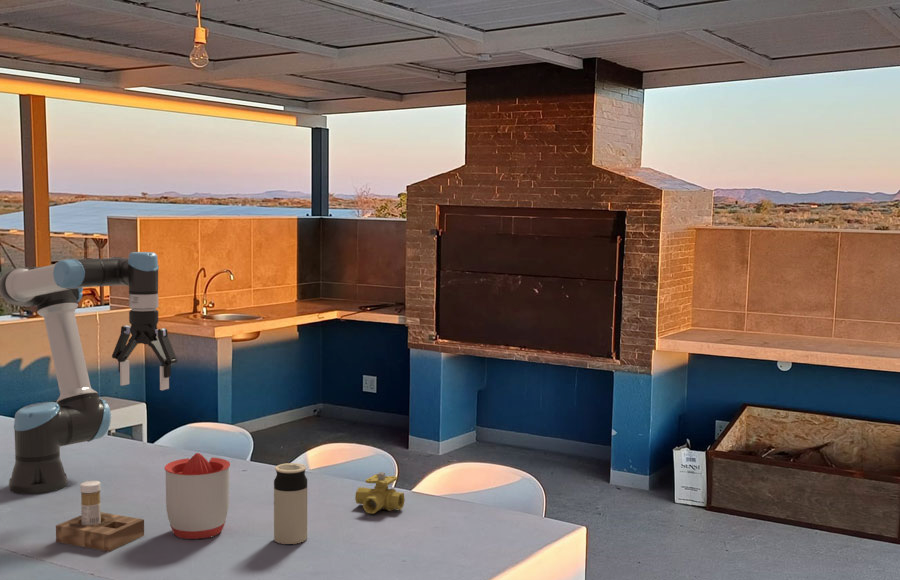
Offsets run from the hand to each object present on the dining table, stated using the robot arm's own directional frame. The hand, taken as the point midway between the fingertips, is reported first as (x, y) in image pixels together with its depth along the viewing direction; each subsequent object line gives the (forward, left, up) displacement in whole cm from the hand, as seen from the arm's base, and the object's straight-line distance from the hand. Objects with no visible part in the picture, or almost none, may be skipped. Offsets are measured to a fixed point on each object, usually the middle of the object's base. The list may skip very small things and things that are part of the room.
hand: (144, 387), depth 253 cm
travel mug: (+53, -11, -31) cm, 62 cm away
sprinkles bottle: (+8, -29, -31) cm, 43 cm away
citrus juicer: (+29, -15, -31) cm, 45 cm away
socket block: (+11, -29, -31) cm, 44 cm away
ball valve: (+62, +18, -32) cm, 72 cm away
